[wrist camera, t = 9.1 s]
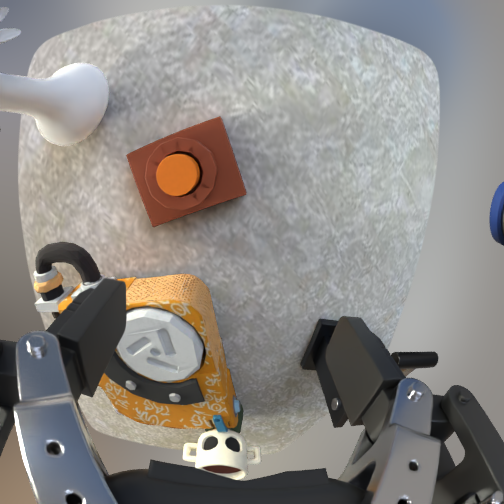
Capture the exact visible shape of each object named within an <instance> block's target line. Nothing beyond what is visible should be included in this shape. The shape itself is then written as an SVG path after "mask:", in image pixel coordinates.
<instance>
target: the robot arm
mask: <svg viewBox="0 0 504 504" xmlns="http://www.w3.org/2000/svg"><path fill="white" fill-rule="evenodd" d="M501 230H502V234H503V236H504V205H503V209H502V214H501ZM126 322H127V312H126V284H125V282H124V281H119V280H115V279H110V278H104V279H103V280H102V281H101V282H100V283H99V284H98V285H97V286H96V288H95V289H94V288H89V289H87V290H85V291H83V292H81V293H79V294H78V295H77V296H76V297H75V298H74V299H73V301H72V303H70V304H69V305H68V306H67V307H66V309H64V310H63V312H62V313H61V314H60V315H59V316H58V317H57V318H56V320H55V321H54V322H53V323H52V324H51V325H50V327H49V328H48V329H47V330H46V331H32V332H29V333H27V334H25V335H24V336H22V337H21V338H20V339H19V341H18V342H12V341H6V340H0V456H1V453H2V451H3V448H4V446H5V443H6V441H7V439H8V436H9V434H10V431H11V430H12V427H13V425H14V423H16V429H17V435H18V440H19V444H20V449H21V453H22V457H23V461H24V465H25V468H26V471H27V474H28V478H29V482H30V485H31V488H32V490H33V493H34V496H35V499H36V501H37V504H504V442H503V440H502V439H501V437H500V435H499V434H498V432H497V430H496V429H495V427H494V426H493V424H492V423H491V421H490V419H489V418H488V416H487V415H486V413H485V412H484V410H483V409H482V407H481V406H480V404H479V403H478V401H477V400H476V398H475V397H474V396H473V394H472V393H471V392H470V391H469V390H468V389H466V388H464V387H462V386H459V385H454V386H452V387H451V388H450V389H449V390H448V392H447V393H446V394H445V395H444V396H440V395H433V394H432V392H431V390H430V389H429V388H428V386H427V385H426V384H424V383H423V382H421V381H419V380H417V379H414V378H406V377H405V375H404V374H403V372H402V371H401V369H400V368H399V366H398V365H397V363H396V362H395V360H394V359H393V357H392V356H390V353H389V351H388V350H387V349H385V346H384V344H383V343H382V341H381V340H380V338H378V337H377V336H376V335H375V334H374V333H372V332H371V331H370V330H369V328H368V327H367V326H366V324H365V323H364V321H363V320H362V319H361V318H358V317H347V316H342V317H341V318H340V319H339V321H338V323H337V325H336V328H335V330H334V333H333V335H332V337H331V339H330V342H329V344H328V346H327V349H326V354H325V359H326V364H327V366H328V369H329V371H330V374H331V376H332V379H333V381H334V384H335V386H336V389H337V391H338V394H339V396H340V399H341V401H342V404H343V406H344V409H345V412H346V414H347V417H348V419H349V422H350V424H351V426H356V425H364V426H365V429H364V430H363V431H362V433H361V435H360V437H359V439H358V442H357V444H356V446H355V449H354V451H353V454H352V455H351V458H350V460H349V462H348V464H347V466H346V468H345V470H344V472H343V473H342V474H341V476H340V477H339V478H338V479H332V478H328V476H327V472H326V469H325V468H323V469H315V470H302V471H287V472H283V473H279V474H275V475H271V476H267V477H262V478H257V479H252V480H247V481H240V480H235V479H232V478H228V477H224V476H221V475H217V474H214V473H211V472H208V471H204V470H201V469H198V468H195V467H188V466H182V465H176V464H170V463H165V462H160V461H155V460H150V466H149V469H137V470H128V471H122V472H118V473H115V474H112V475H109V474H108V472H107V470H106V468H105V466H104V464H103V462H102V460H101V458H100V456H99V454H98V452H97V450H96V448H95V445H94V443H93V441H92V438H91V436H90V434H89V431H88V428H87V426H86V423H85V421H84V418H83V415H82V412H81V410H80V407H79V404H78V399H79V397H80V395H81V393H82V394H84V395H87V396H90V397H93V395H94V393H95V391H96V389H97V386H98V384H99V382H100V380H101V378H102V376H103V374H104V372H105V370H106V368H107V366H108V364H109V362H110V360H111V358H112V356H113V354H114V352H115V350H116V348H117V346H118V344H119V342H120V340H121V338H122V336H123V334H124V332H125V328H126ZM454 431H455V432H456V434H457V436H458V438H459V440H460V442H461V443H462V445H463V447H464V449H465V457H464V459H463V461H462V462H461V463H460V464H459V465H457V466H455V464H454V462H453V460H452V458H451V456H450V453H449V451H448V450H447V447H446V445H445V443H444V442H445V441H446V439H448V438H449V437H450V436H451V435H452V434H453V432H454Z"/></svg>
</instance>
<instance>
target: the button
mask: <svg viewBox="0 0 504 504" xmlns="http://www.w3.org/2000/svg"><path fill="white" fill-rule="evenodd" d="M156 178H157V182H158V185H159V187H160V188H161V189H162V190H163V191H164V192H165V193H167V194H169V195H172V196H180V195H184V194H186V193H187V192H189V191H190V190H192V189H193V188H194V187H195V186H196V185H197V183H198V181H199V178H200V169H199V166H198V164H197V162H196V161H195V160H194V159H193V158H192V157H190V156H188V155H185V154H174V155H170V156H168V157H166V158H165V159H163V160H162V162H161V163H160V164H159V166H158V169H157V173H156Z"/></svg>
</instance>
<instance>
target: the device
mask: <svg viewBox="0 0 504 504" xmlns="http://www.w3.org/2000/svg"><path fill="white" fill-rule="evenodd" d="M55 262H66V263H69V264H72V265H73V266H74V267H75V269H76V270H77V271H78V272H79V273H80V275H81V278H82V280H83V282H82V283H80V284H79V285H78V286H77V287H76V288H75V289H74V288H73V286H71V287H62V285H61V284H62V281H63V277H62V274H61V273H60V272H58V271H57V270H56V267H55V266H52V263H55ZM34 277H35V280H36V281H35V283H34V288H35V290H36V291H37V292H38V293H40V294H41V296H42V297H41V298H40V299H39V300H38V301H37V302H36V303H35V306H36V308H37V310H38V312H52V314H53V316H54V318H57V317H58V316H59V315H60V314H61V313H62V312H63V310H64V309H66V307H67V306H68V305H69V304H70V303H72V301H73V299H74V298H75V297H76V296H77V295H78V294H79V293H81V292H83V291H85V290H87V289H89V288H94V289H95V288H96V286H97V285H98V284H99V283H100V282H101V281H102V280H103V279H104V278H105V275H102V274H101V275H100V272H99V270H98V267H97V265H96V263H95V262H94V260H93V259H92V257H91V255H90V254H89V253H88V252H87V251H86V250H85V249H84V248H82V247H80V246H78V245H76V244H74V243H67V242H59V243H53V244H48V245H46V246H45V247H44V248H42V249H41V250H39V252H38V254H37V257H36V271H35V273H34ZM107 278H110V279H115V280H119V281H124V282H125V284H126V312H127V322H126V328H125V332H124V334H123V336H122V338H121V340H120V342H119V344H118V346H117V348H116V350H115V352H114V354H113V356H112V358H111V360H110V362H109V364H108V366H107V368H106V370H105V372H104V374H103V376H102V378H101V380H100V382H99V384H98V386H100V387H102V389H103V390H104V392H105V393H106V395H107V396H108V398H109V399H110V401H111V402H112V404H113V407H114V410H115V412H116V413H117V414H120V415H125V416H127V417H129V418H131V419H133V420H134V421H136V422H139V423H143V424H147V425H158V426H163V427H170V428H178V429H209V428H216V429H217V431H218V432H228V429H229V430H230V428H235V427H236V426H237V423H238V412H240V410H241V407H240V401H239V400H237V399H236V394H235V391H234V387H233V383H232V379H231V375H230V370H229V369H228V368H227V365H226V360H225V355H224V349H223V344H222V338H220V335H219V331H218V326H217V322H216V318H215V313H214V309H213V304H212V300H211V295H210V291H209V289H208V287H207V286H206V285H205V284H204V283H203V282H202V281H201V279H199V278H197V277H196V276H194V275H190V274H175V275H168V276H160V277H151V278H141V279H136V277H131V278H123V279H116V276H115V277H107Z"/></svg>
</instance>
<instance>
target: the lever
mask: <svg viewBox="0 0 504 504" xmlns="http://www.w3.org/2000/svg"><path fill="white" fill-rule="evenodd" d="M391 356H392V357H393V359H394V360H395V362H396V363H397V365H398V366H399V368H400V369H401V371H402V372H403V374H404V375H405V377H406V376H407V375H408V374H409V373H411V372H412V371H413V370H414V369H416V368H429V367H434V366H435V365H436V364H437V362H438V355H437V353H436V352H394V353H392V355H391Z"/></svg>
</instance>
